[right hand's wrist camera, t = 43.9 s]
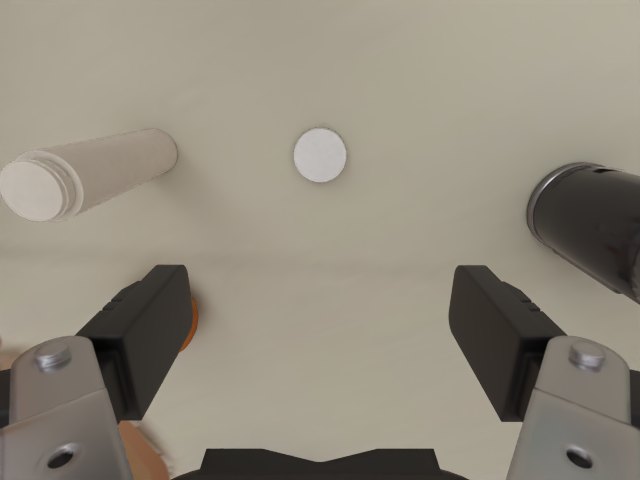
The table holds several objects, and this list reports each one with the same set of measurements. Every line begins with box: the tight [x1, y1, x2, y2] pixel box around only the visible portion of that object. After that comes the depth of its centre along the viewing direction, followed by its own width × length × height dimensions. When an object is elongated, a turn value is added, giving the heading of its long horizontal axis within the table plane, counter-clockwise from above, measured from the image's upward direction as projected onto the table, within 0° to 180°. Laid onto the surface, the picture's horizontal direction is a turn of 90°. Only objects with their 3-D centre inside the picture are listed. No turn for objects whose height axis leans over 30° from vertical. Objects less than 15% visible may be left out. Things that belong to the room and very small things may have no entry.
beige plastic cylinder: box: [0, 129, 177, 222], centre depth 29 cm, size 4×4×17 cm
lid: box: [293, 127, 347, 182], centre depth 37 cm, size 5×5×2 cm
